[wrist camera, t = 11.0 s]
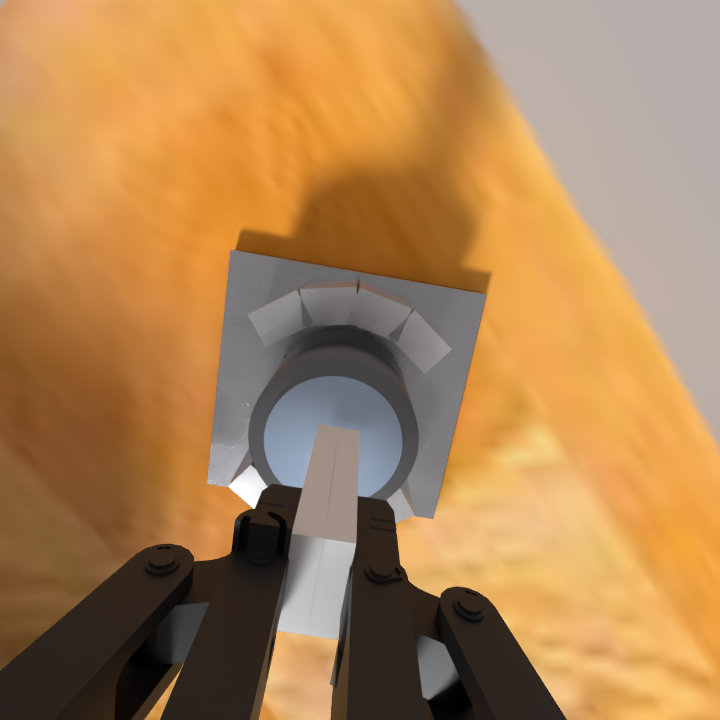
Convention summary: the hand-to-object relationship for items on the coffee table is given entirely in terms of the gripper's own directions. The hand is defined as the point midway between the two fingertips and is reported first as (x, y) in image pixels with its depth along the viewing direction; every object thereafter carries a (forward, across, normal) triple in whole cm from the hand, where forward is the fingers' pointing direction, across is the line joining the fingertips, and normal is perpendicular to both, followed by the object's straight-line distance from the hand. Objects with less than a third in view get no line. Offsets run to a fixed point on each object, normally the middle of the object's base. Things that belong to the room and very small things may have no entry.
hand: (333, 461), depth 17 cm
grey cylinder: (+8, 0, 0) cm, 8 cm away
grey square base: (+9, 0, 0) cm, 9 cm away
